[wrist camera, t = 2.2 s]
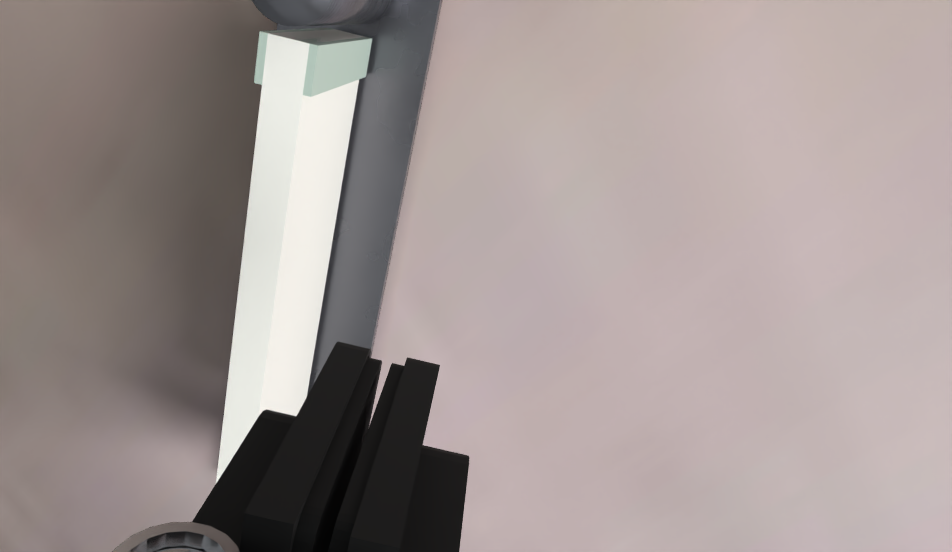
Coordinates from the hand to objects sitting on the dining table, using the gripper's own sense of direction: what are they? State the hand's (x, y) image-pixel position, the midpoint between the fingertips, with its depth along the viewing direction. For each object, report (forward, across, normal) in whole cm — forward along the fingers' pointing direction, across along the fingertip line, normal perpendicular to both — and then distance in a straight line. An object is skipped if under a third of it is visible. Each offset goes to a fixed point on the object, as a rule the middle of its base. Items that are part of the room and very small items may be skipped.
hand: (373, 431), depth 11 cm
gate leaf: (+13, +4, +3) cm, 14 cm away
